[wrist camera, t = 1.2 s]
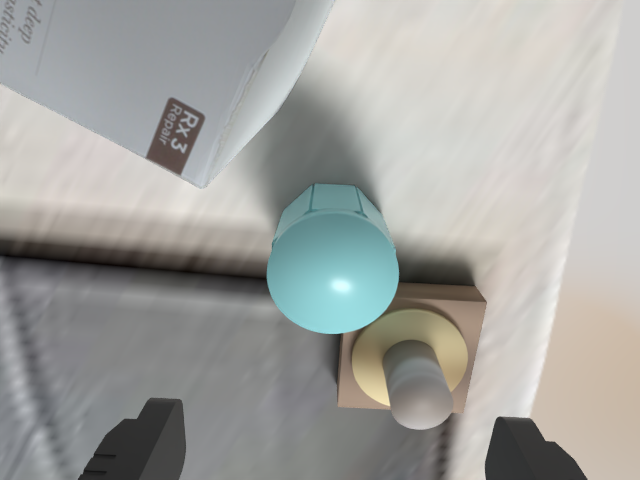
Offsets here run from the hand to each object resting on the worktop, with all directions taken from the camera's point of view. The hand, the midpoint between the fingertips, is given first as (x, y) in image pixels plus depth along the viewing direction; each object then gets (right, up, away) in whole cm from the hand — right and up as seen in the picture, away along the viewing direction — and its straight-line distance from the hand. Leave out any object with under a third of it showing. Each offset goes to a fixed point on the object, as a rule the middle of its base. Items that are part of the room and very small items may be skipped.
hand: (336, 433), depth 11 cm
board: (+5, -1, +17) cm, 17 cm away
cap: (0, +5, +14) cm, 15 cm away
